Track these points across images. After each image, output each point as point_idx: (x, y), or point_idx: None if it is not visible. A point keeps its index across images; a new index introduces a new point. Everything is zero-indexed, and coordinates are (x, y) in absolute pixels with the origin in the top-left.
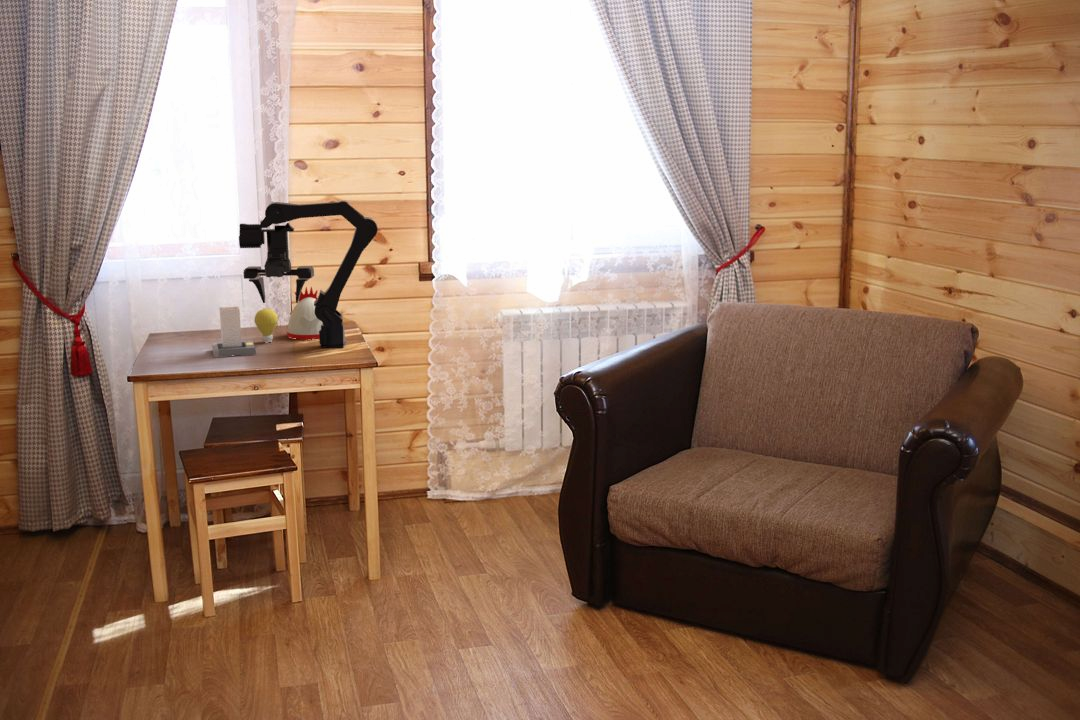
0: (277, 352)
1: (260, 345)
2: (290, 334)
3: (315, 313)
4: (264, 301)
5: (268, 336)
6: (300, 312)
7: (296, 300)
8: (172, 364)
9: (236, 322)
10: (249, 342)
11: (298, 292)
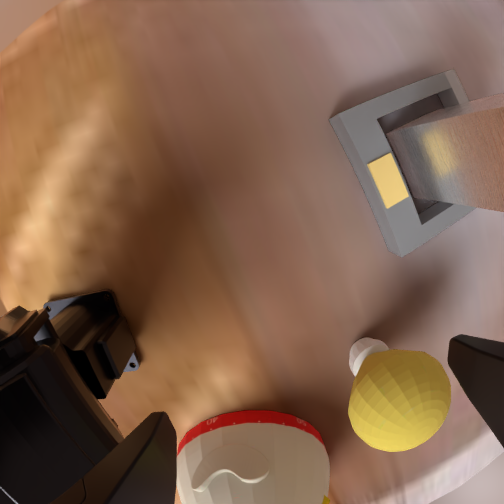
0: (255, 175)
1: (374, 298)
2: (304, 429)
3: (47, 346)
4: (457, 343)
5: (364, 351)
6: (273, 498)
7: (153, 422)
8: (475, 6)
9: (478, 107)
10: (402, 220)
11: (97, 473)
